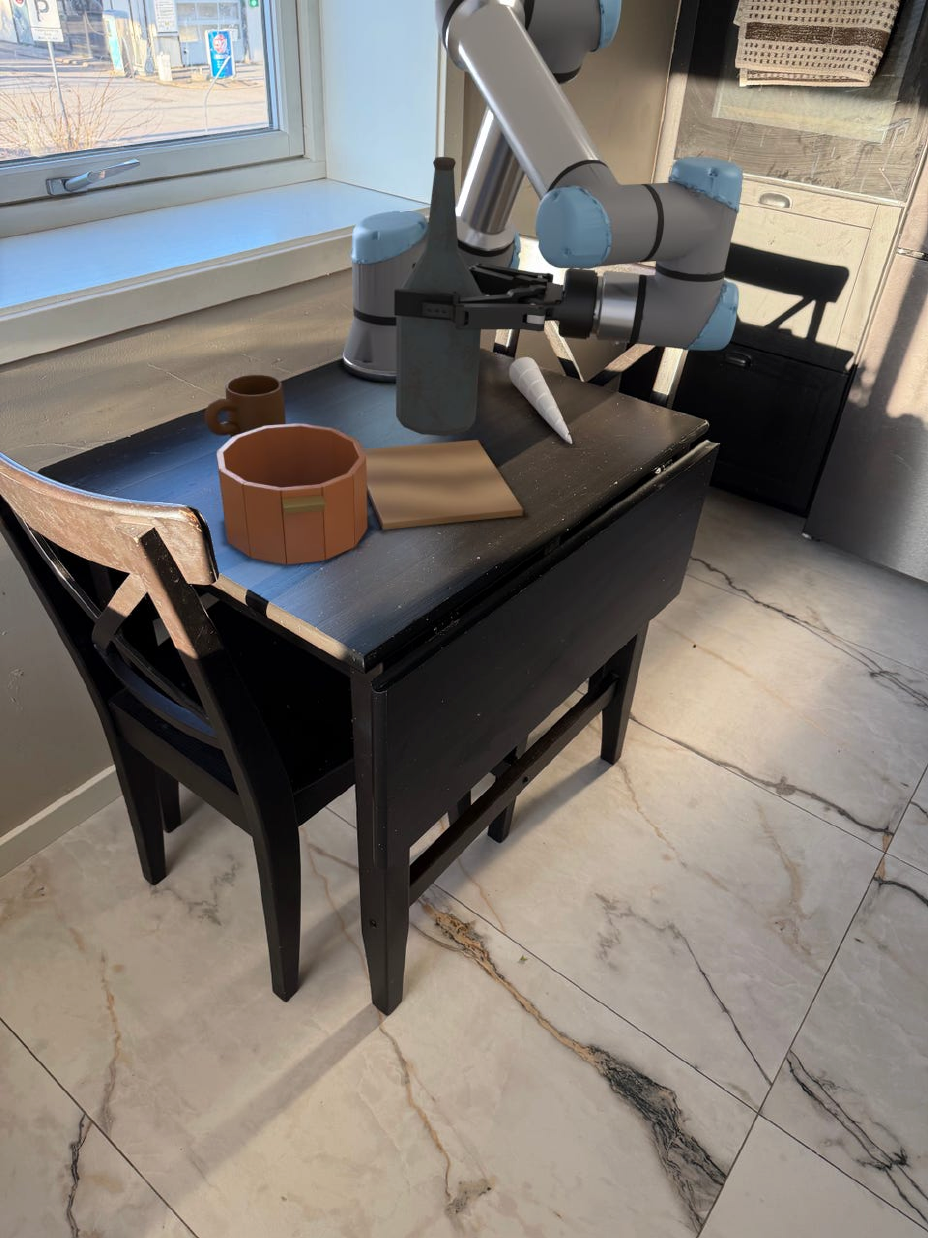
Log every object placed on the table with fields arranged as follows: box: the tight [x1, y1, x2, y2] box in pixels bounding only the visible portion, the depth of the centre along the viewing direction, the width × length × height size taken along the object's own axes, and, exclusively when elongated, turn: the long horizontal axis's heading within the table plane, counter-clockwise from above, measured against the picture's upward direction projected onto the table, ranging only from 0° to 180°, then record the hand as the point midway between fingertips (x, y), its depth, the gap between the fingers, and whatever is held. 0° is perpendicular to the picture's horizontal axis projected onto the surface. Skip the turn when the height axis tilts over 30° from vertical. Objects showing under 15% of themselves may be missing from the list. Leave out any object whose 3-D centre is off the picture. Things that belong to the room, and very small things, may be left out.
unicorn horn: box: [508, 356, 573, 445], centre depth 139 cm, size 5×24×5 cm, turn 12°
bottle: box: [395, 156, 483, 437], centre depth 106 cm, size 10×10×30 cm
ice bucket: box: [215, 422, 368, 566], centre depth 107 cm, size 21×17×10 cm
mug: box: [204, 374, 287, 439], centre depth 121 cm, size 12×8×9 cm, turn 142°
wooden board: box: [362, 439, 524, 531], centre depth 120 cm, size 20×18×1 cm
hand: (404, 287), depth 105 cm, fingers closed on bottle, 10 cm apart
